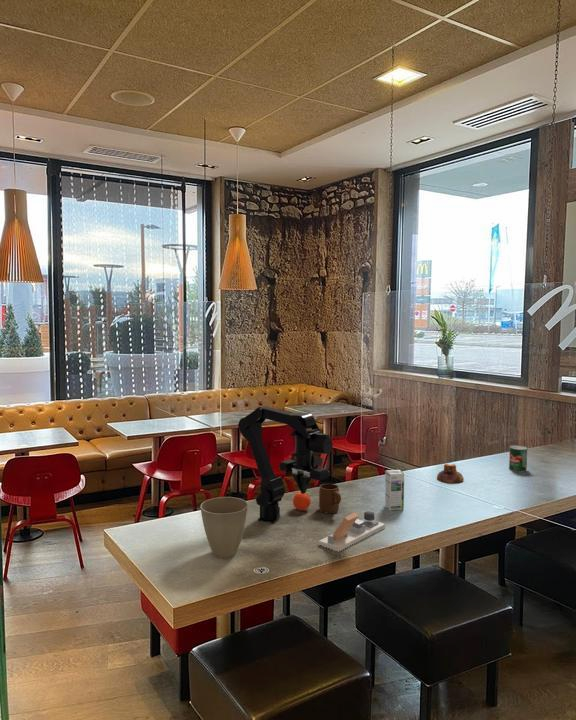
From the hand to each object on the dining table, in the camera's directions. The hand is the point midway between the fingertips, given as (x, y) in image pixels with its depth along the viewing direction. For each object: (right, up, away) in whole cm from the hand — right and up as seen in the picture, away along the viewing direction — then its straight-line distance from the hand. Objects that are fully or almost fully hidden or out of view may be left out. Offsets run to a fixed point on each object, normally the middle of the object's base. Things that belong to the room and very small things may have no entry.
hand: (303, 493), depth 199 cm
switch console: (+17, -14, -5) cm, 22 cm away
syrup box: (+36, -11, +23) cm, 44 cm away
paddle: (+11, -12, -11) cm, 20 cm away
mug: (+11, -12, +18) cm, 24 cm away
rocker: (+18, -9, -4) cm, 21 cm away
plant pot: (-26, -15, -18) cm, 35 cm away
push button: (+23, -9, +2) cm, 25 cm away
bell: (+68, -8, +60) cm, 91 cm away
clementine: (0, -11, +21) cm, 23 cm away
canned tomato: (+105, -6, +75) cm, 130 cm away
